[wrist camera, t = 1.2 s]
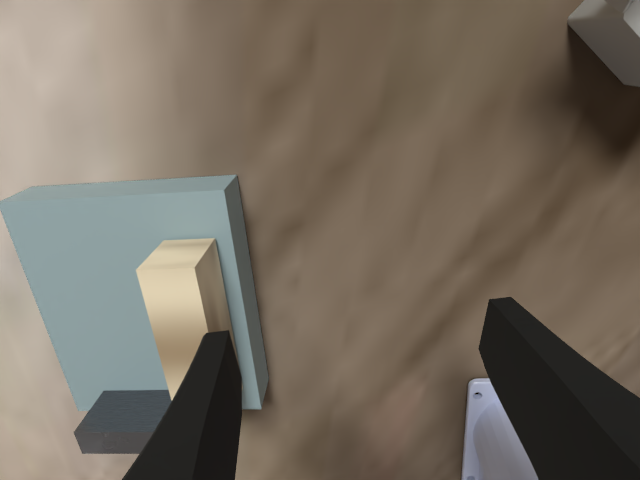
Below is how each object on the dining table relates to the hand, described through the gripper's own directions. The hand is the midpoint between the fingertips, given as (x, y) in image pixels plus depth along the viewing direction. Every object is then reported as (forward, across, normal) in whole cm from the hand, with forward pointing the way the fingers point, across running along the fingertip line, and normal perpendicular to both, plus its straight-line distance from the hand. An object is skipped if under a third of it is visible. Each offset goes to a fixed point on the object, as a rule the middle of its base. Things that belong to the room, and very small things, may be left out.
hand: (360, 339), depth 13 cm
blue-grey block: (+12, +10, +7) cm, 17 cm away
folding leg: (+8, +7, +7) cm, 13 cm away
